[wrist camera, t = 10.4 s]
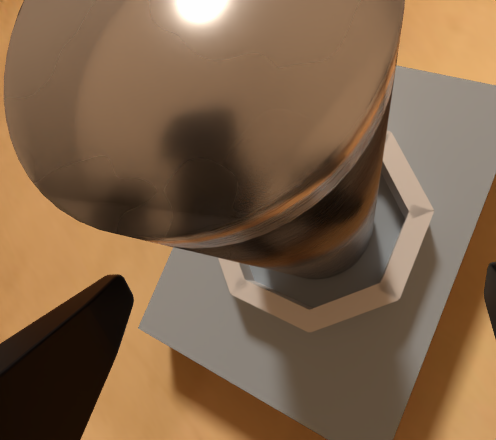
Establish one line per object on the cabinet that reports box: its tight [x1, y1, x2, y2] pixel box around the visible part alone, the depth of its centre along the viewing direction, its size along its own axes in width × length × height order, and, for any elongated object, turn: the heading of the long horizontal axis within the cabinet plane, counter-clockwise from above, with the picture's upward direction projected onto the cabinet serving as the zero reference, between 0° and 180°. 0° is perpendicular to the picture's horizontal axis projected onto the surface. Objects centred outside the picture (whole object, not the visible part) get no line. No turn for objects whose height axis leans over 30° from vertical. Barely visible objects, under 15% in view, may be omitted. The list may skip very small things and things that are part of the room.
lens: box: [4, 0, 405, 279], centre depth 10 cm, size 5×5×13 cm
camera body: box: [138, 66, 496, 440], centre depth 17 cm, size 16×12×4 cm
